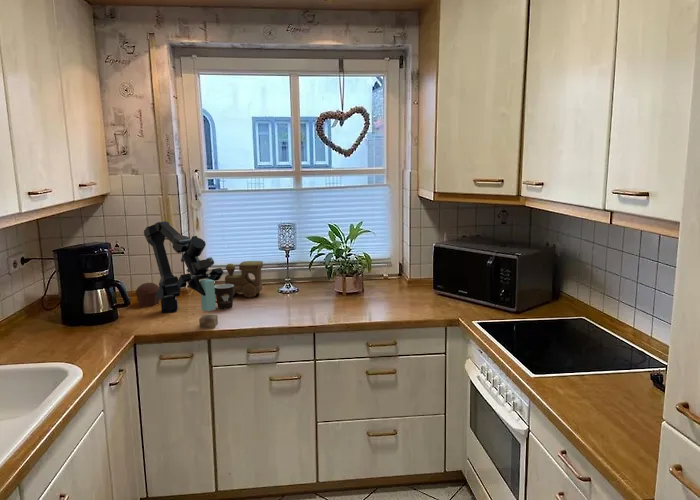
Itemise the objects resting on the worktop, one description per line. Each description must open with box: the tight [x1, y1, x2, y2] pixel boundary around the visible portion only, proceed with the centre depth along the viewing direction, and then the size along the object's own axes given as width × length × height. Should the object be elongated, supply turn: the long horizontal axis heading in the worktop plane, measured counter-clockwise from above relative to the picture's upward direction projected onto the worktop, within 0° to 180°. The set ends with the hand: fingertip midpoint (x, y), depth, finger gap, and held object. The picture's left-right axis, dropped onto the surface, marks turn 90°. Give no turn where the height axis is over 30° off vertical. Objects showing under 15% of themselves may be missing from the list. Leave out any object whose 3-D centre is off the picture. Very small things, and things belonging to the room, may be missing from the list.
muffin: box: [134, 282, 160, 307], centre depth 249 cm, size 12×11×10 cm
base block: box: [198, 314, 219, 329], centre depth 216 cm, size 6×6×4 cm
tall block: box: [199, 279, 217, 312], centre depth 214 cm, size 4×4×12 cm
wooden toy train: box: [224, 260, 264, 299], centre depth 262 cm, size 20×11×17 cm, turn 87°
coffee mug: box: [214, 283, 234, 310], centre depth 242 cm, size 12×9×10 cm
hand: (209, 294), depth 213 cm, fingers closed on tall block, 4 cm apart
